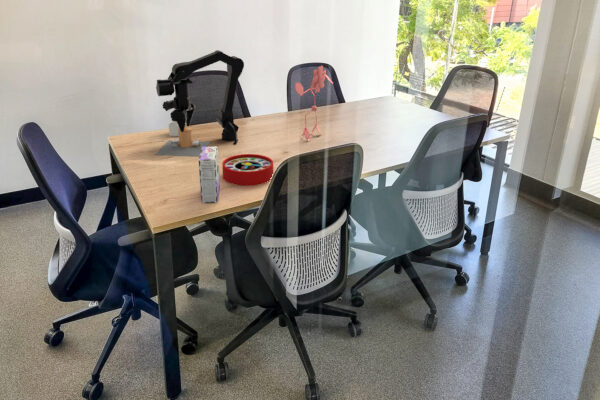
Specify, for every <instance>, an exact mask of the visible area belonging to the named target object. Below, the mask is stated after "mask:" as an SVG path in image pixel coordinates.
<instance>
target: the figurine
mask: <svg viewBox="0 0 600 400" xmlns="http://www.w3.org/2000/svg"><path fill="white" fill-rule="evenodd" d="M312 72H313V73H312V75H313V78H312V80H311V81H312V82H311V86H310V87H309V88H308V89H306V90H305V91H304V89H305V88H304V86H303V85H302V83H301V82H299V81H296V83H295V87H294V88H295V89H294V90H295V91H296V93H297V94H298V96H300V97H303V95H305V94H306V93H307V92H308V91H311V93H312V95H313V98H314V100H313V101H314V105H312V106H311V110H310V111H309V112H308V113H307V114H305V115H304V120H305V122H304V123H305V126H307V116H308V115H309V114H311V113H312V112H317V110H318V107H317V106H316V95H315V94H317V93H320V91H321V89H323V88H325V83H324V82H325V80H326V79H327V81H329V83H331V84H332V85H334V82H333V81H332V80H331V78H330V77H329V76H328V75H327V70H326V69H325V70H324V66H323V65H320V66H318V67H317V69H313V71H312ZM313 90H314V92H313ZM314 93H315V94H314ZM317 120H318V119H317V116H315V123H314V127H313V129H312V131H311V132H313V133H314V131H315V129H316V130H317V132H318V133H319V134H320V132H321V130H320V128H319V126H318V124H317ZM301 136H303V137H305V139H306V140H308V139H310V140H311V133H310V131H309V129H308V128H307V127H304V128H303V133H302V135H301Z"/></svg>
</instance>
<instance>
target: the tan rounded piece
mask: <svg viewBox="0 0 600 400" xmlns="http://www.w3.org/2000/svg"><path fill="white" fill-rule="evenodd" d="M192 129H193V128H192V126H189V127H187V126H185V128H184V132H181V130H180V128H178V130H179V131H178V133H179V137H178V139H179V143H178V146H181V147H191V146H199V144H198V145H193V144H192V143H193V141H194V138H193V130H192Z"/></svg>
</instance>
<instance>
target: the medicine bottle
mask: <svg viewBox="0 0 600 400" xmlns="http://www.w3.org/2000/svg"><path fill="white" fill-rule="evenodd" d="M185 126H187V124H185ZM187 127H190V125H189V126H187ZM178 128H179V126H178V123H177V121H176V120H174V119H172V118H171V123H168V133H169V136H170V137H178V138H179V133H178V131H179V130H178Z"/></svg>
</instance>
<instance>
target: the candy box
mask: <svg viewBox="0 0 600 400" xmlns="http://www.w3.org/2000/svg"><path fill="white" fill-rule="evenodd" d="M219 162H220V161H219V148H218V146H213V145H211V146H210V145H209V146H208V147H202V149H201V153H200V157H198V170H199V171H198V172H199V184H200V185H199V187H200V199H201V204H218V202H219V198H220V189H221V180H220V179H221V176H220V164H219Z"/></svg>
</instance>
